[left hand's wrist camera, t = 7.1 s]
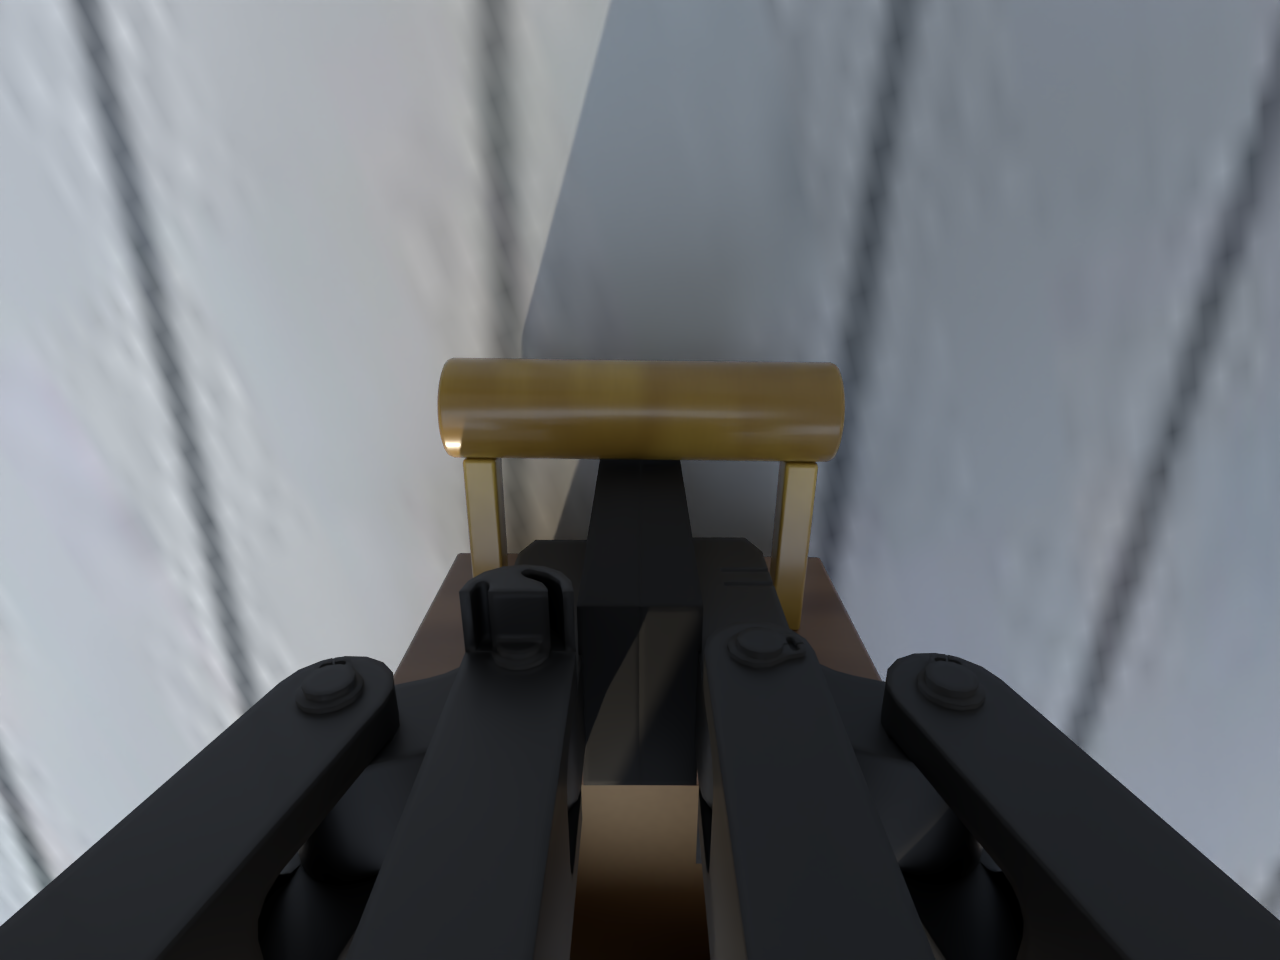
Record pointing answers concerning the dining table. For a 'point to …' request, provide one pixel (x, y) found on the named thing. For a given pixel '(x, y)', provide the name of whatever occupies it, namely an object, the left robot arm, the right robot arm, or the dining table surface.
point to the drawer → (642, 430)
